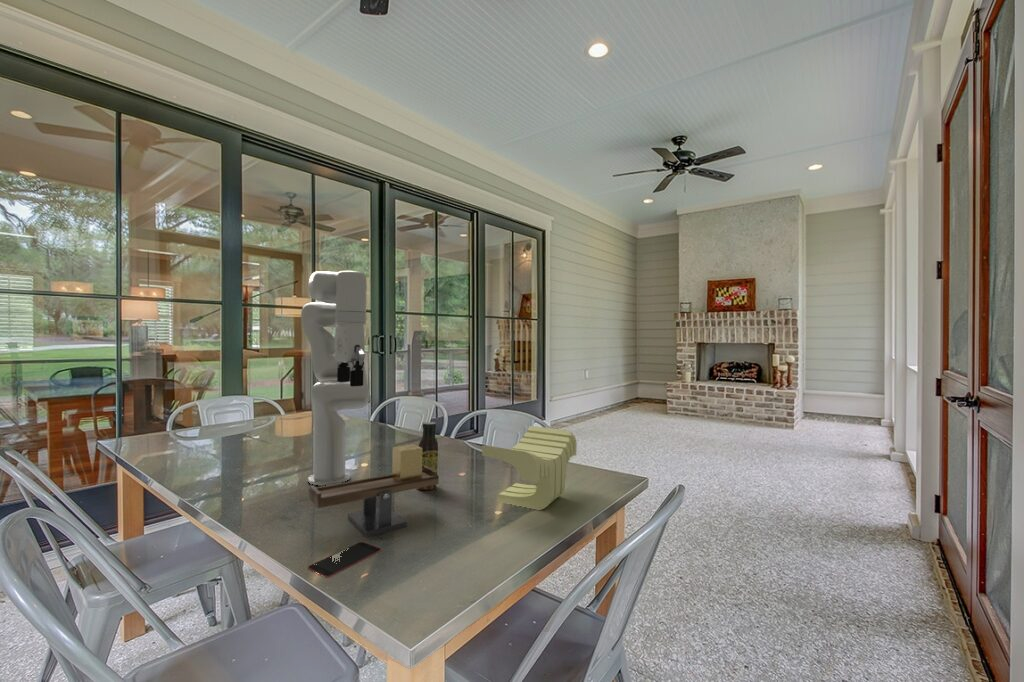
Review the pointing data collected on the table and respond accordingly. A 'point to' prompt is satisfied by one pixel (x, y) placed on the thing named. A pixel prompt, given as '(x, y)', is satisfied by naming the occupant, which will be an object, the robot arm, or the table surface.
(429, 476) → the brown long channel
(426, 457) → the sauce bottle
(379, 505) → the beam stand
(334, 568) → the smartphone
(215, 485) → the table surface
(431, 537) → the table surface
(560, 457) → the slatted curved stool
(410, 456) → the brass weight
